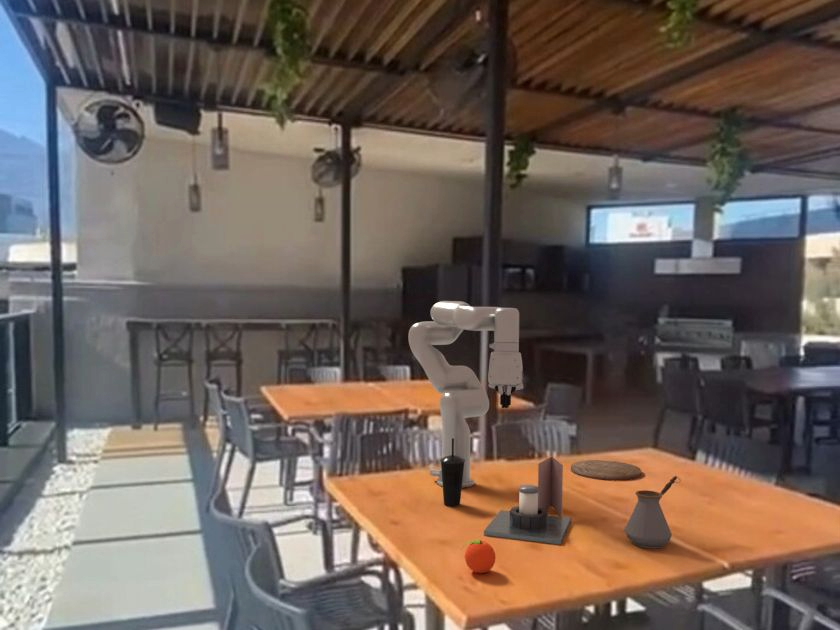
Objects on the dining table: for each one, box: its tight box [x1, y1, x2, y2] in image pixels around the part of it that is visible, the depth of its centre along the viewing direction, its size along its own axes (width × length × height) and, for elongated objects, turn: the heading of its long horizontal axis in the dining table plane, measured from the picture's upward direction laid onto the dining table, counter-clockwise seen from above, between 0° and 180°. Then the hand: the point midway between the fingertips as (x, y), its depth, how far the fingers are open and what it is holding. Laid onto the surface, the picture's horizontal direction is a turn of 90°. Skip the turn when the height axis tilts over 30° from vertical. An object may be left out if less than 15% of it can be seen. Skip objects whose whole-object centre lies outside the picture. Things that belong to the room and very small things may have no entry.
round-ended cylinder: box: [518, 484, 539, 515], centre depth 190 cm, size 5×5×10 cm
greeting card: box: [537, 456, 564, 517], centre depth 206 cm, size 11×7×15 cm, turn 150°
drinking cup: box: [439, 438, 465, 508], centre depth 212 cm, size 8×8×20 cm
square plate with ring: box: [483, 505, 572, 546], centre depth 190 cm, size 20×20×5 cm
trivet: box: [570, 459, 642, 482], centre depth 257 cm, size 25×25×2 cm
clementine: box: [461, 540, 497, 574], centre depth 159 cm, size 8×7×7 cm
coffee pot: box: [624, 475, 682, 549], centre depth 183 cm, size 21×12×15 cm, turn 134°
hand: (505, 407), depth 216 cm, fingers closed
